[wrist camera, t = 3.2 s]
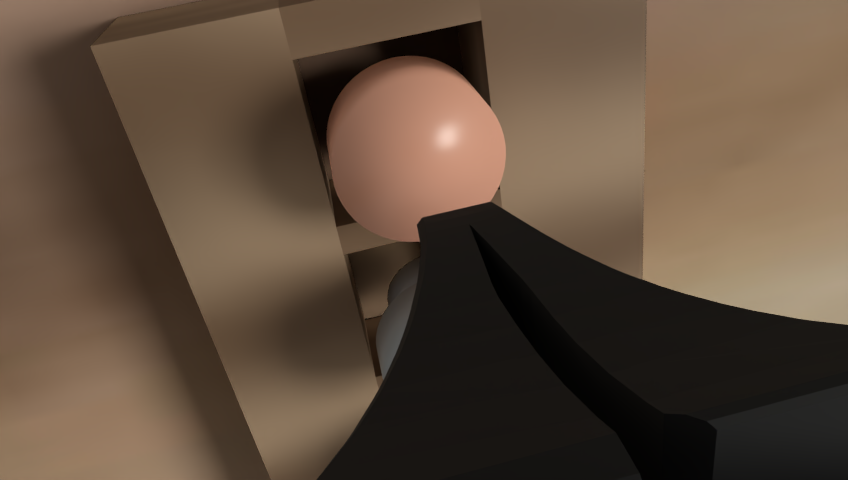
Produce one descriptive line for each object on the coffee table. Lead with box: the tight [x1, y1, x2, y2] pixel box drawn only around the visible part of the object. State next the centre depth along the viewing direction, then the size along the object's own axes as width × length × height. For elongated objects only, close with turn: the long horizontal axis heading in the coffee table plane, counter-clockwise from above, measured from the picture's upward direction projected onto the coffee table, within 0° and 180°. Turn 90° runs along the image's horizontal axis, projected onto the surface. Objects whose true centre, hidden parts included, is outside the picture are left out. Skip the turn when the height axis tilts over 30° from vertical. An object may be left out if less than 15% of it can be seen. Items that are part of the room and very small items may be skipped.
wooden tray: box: [90, 0, 647, 480], centre depth 21 cm, size 18×13×3 cm
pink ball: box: [327, 56, 506, 242], centre depth 17 cm, size 4×4×4 cm
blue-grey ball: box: [376, 257, 420, 380], centre depth 19 cm, size 4×4×4 cm
